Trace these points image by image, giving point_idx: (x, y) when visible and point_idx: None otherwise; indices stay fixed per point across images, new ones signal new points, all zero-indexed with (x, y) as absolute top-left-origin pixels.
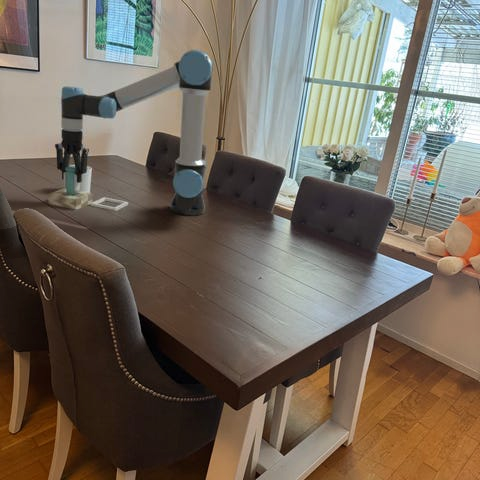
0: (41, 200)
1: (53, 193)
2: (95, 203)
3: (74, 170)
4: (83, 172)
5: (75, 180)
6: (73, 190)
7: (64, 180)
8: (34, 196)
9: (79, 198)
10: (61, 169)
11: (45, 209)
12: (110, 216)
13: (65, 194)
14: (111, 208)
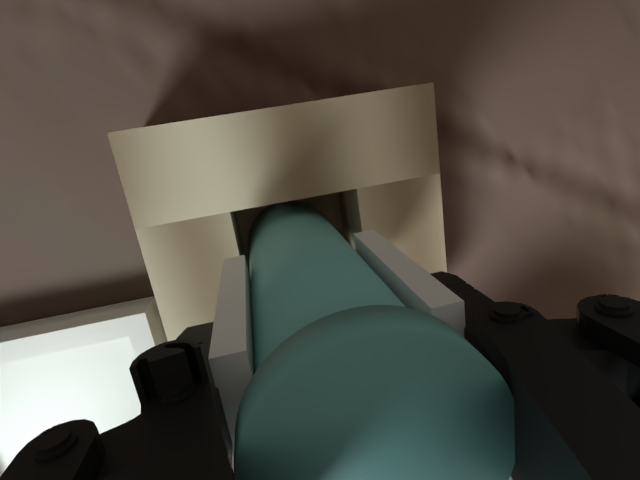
0: (509, 162)
1: (409, 129)
2: (113, 337)
3: (243, 400)
4: (17, 468)
5: (225, 308)
6: (257, 255)
7: (396, 259)
8: (594, 195)
9: (126, 197)
10: (540, 317)
11: (348, 4)
12: None
13: (313, 193)
14: None
